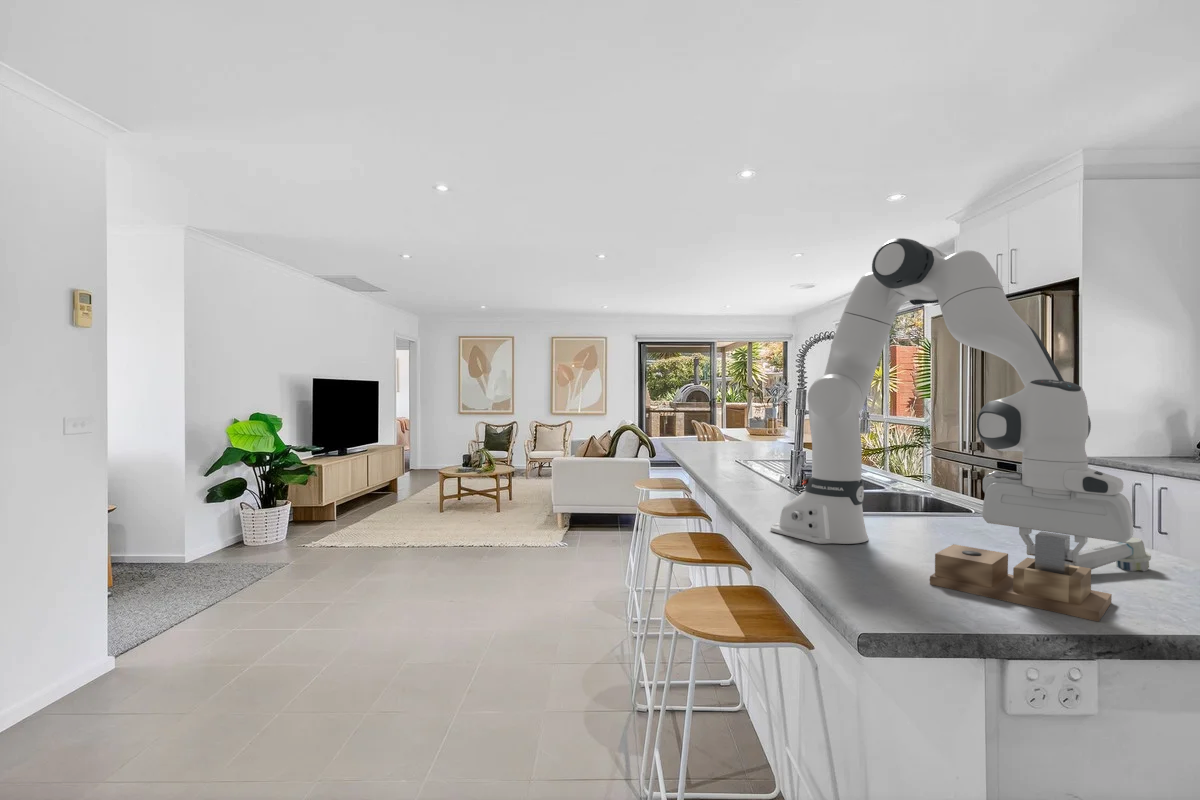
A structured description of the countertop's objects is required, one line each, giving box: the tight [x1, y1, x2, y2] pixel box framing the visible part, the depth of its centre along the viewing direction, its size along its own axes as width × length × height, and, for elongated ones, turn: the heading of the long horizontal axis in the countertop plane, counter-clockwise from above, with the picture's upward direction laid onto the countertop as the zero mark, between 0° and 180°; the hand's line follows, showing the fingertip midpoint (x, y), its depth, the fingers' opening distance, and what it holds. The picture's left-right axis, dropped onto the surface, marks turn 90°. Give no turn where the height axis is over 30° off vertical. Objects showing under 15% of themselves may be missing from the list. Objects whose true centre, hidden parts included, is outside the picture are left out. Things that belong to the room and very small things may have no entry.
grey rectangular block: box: [1034, 531, 1071, 576], centre depth 102 cm, size 4×4×8 cm
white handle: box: [1069, 536, 1152, 572], centre depth 118 cm, size 5×7×25 cm
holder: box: [929, 543, 1113, 622], centre depth 105 cm, size 24×12×6 cm, turn 43°
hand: (1052, 558), depth 102 cm, fingers closed on grey rectangular block, 4 cm apart
